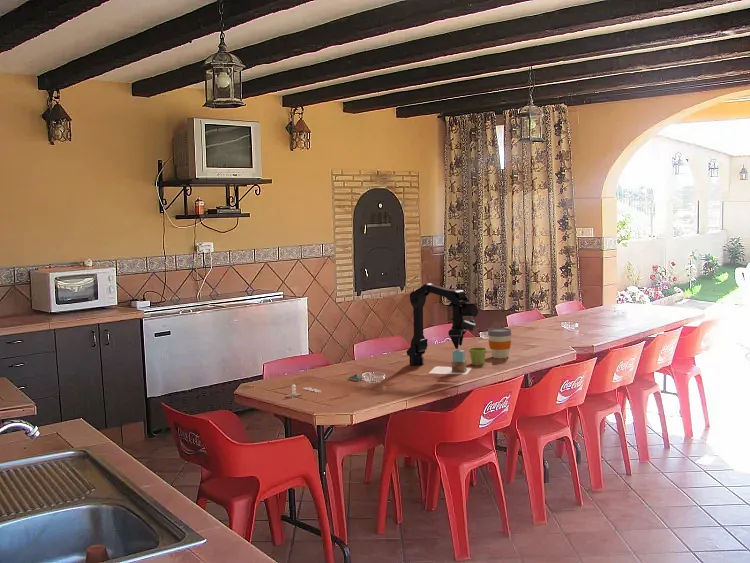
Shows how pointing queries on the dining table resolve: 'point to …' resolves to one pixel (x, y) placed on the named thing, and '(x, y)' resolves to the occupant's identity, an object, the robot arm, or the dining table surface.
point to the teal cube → (458, 355)
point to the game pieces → (294, 394)
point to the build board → (448, 370)
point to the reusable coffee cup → (499, 342)
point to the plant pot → (477, 355)
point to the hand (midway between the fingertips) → (458, 347)
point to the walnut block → (459, 366)
